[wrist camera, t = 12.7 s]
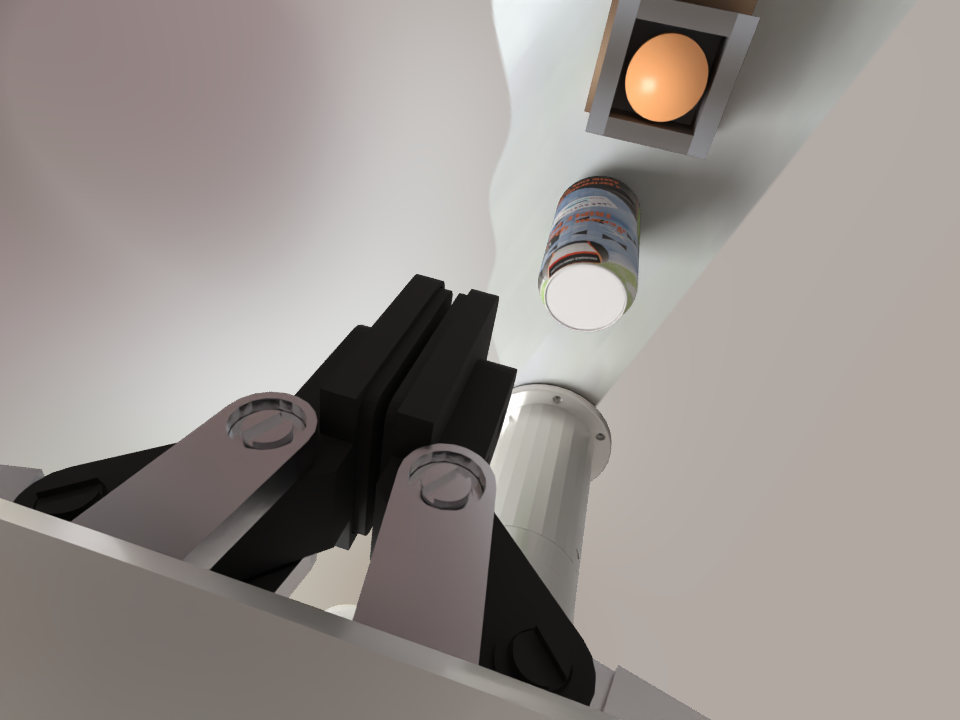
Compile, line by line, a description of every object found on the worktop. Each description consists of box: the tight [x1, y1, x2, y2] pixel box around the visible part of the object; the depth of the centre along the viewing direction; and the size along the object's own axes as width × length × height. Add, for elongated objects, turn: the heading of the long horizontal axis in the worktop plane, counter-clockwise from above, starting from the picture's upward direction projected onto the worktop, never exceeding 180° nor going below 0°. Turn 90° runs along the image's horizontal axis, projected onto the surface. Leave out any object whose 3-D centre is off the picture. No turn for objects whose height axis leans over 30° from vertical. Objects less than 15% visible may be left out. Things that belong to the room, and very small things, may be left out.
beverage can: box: [538, 176, 640, 332], centre depth 37 cm, size 6×7×12 cm
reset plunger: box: [625, 31, 708, 122], centre depth 29 cm, size 4×4×2 cm
